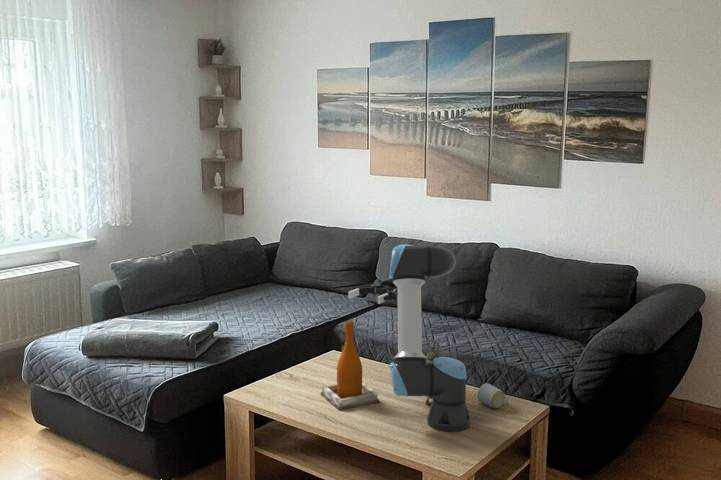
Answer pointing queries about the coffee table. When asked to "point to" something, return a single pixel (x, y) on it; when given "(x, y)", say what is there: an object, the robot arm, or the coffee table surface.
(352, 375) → the wine bottle
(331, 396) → the bottle stand
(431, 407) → the robot arm
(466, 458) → the coffee table surface
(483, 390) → the ceramic mug
